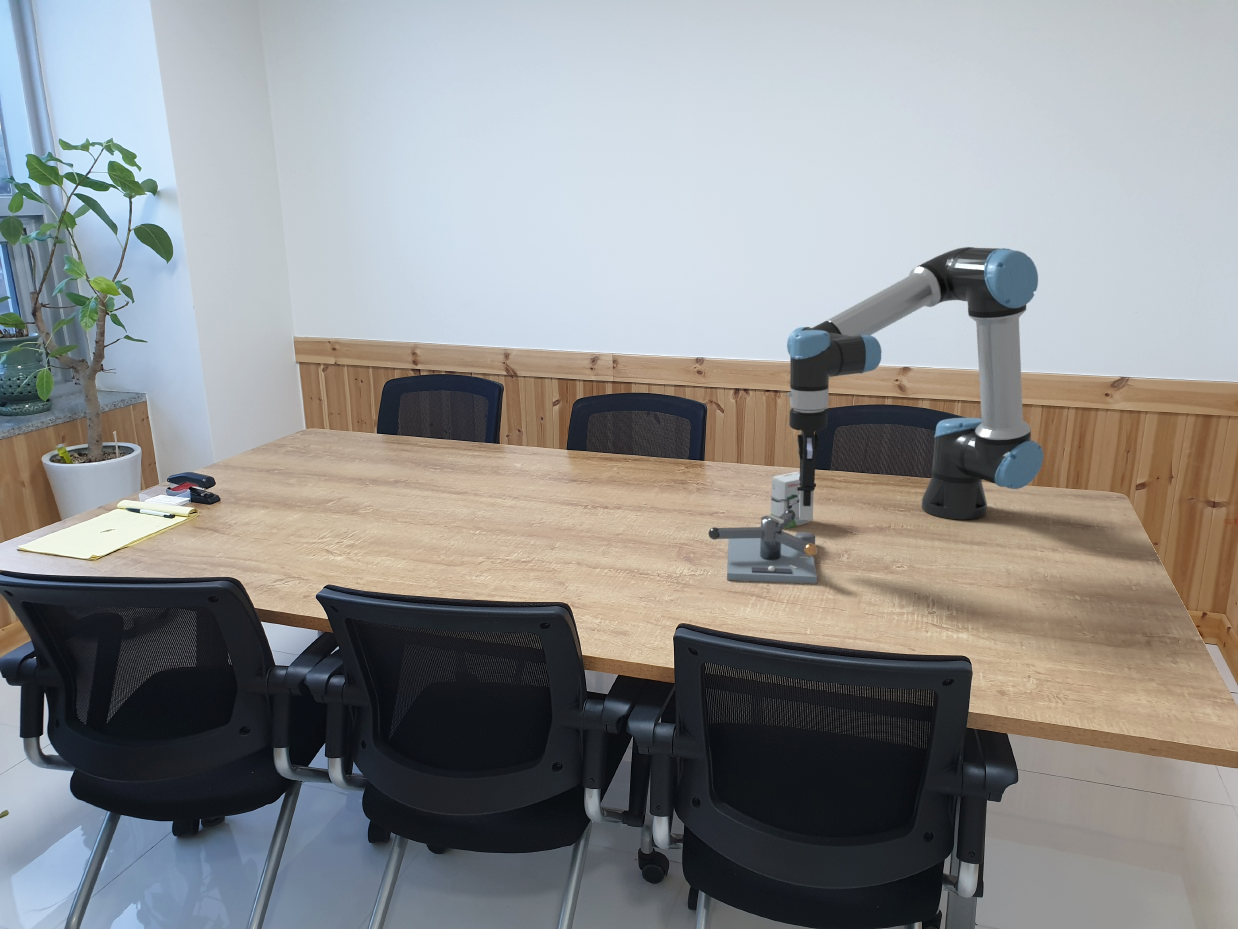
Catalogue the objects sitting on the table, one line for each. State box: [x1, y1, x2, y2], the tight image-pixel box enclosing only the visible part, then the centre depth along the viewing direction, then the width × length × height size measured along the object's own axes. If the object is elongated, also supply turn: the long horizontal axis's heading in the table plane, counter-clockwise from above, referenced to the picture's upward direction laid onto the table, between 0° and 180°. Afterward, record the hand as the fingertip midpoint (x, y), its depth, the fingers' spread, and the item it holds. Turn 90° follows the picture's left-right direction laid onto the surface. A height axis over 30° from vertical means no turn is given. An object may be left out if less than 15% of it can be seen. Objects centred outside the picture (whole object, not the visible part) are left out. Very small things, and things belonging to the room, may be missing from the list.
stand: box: [726, 531, 818, 585], centre depth 195 cm, size 19×23×3 cm
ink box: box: [770, 471, 810, 530], centre depth 216 cm, size 9×5×12 cm, turn 123°
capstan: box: [708, 510, 818, 560], centre depth 190 cm, size 21×23×9 cm
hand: (805, 518), depth 189 cm, fingers closed
